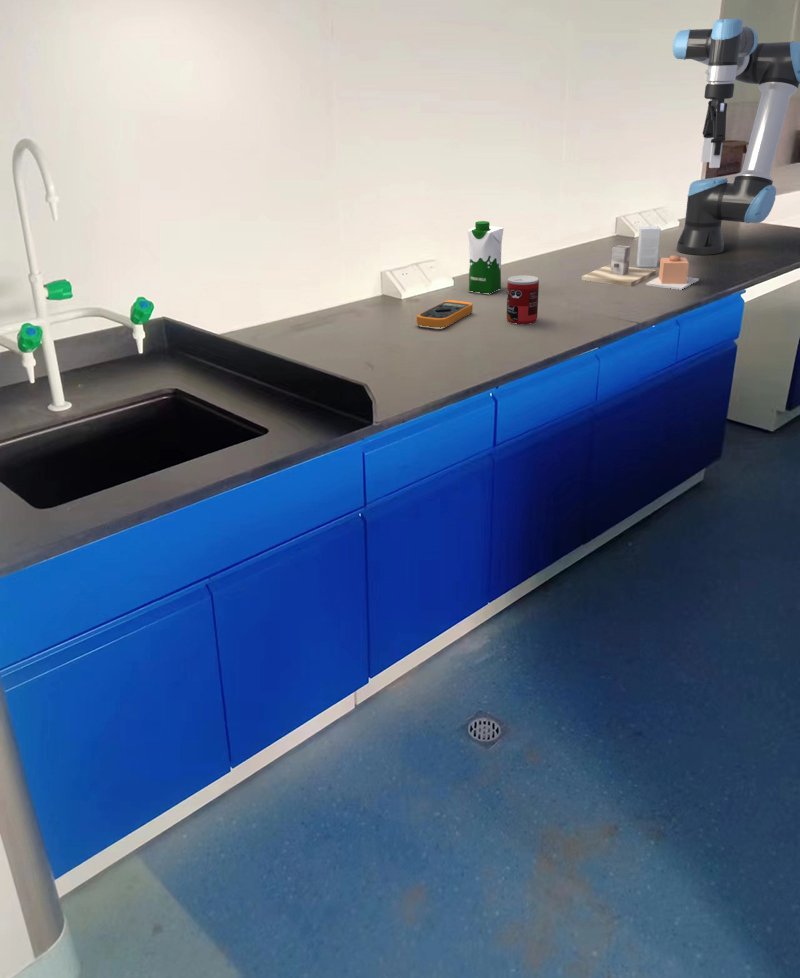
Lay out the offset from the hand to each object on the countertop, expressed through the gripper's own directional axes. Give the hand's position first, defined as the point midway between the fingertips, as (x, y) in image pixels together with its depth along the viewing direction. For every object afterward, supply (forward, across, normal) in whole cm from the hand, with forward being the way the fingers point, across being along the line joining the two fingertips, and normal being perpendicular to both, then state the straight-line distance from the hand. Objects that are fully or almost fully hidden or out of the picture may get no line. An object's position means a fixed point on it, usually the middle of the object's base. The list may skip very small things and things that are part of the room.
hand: (709, 164), depth 241 cm
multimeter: (+32, +50, -72) cm, 93 cm away
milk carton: (+32, +19, -63) cm, 73 cm away
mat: (+32, +9, -8) cm, 34 cm away
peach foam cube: (+31, +9, -8) cm, 33 cm away
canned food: (+32, +50, -52) cm, 79 cm away
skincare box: (+32, -13, -13) cm, 37 cm away
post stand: (+32, +2, -23) cm, 39 cm away
